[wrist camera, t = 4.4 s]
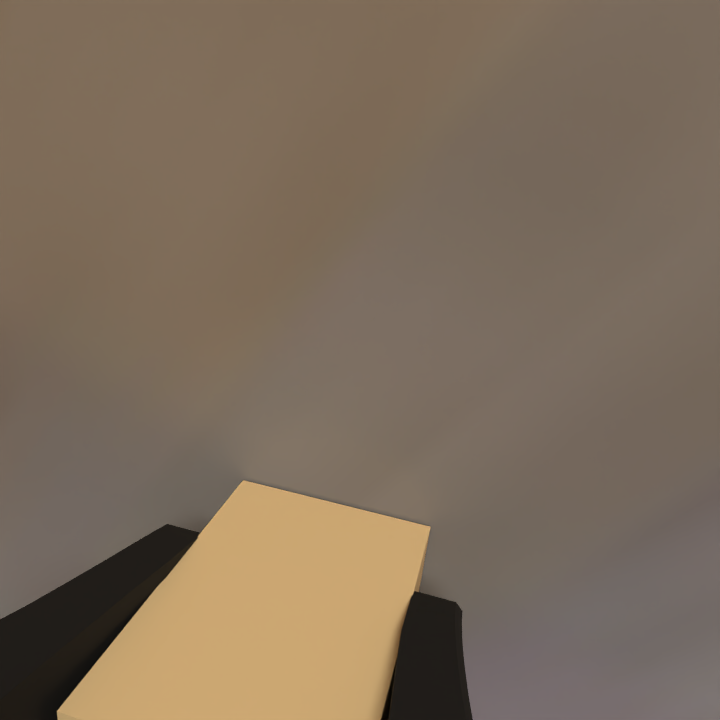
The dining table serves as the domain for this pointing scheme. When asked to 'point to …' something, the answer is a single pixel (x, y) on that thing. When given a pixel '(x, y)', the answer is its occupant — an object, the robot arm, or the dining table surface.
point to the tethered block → (266, 619)
